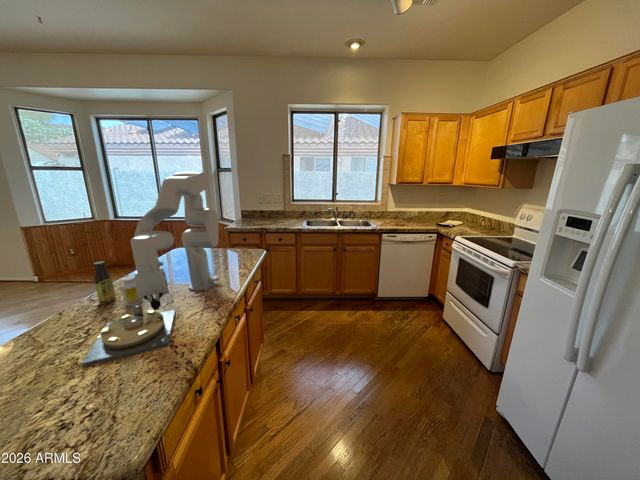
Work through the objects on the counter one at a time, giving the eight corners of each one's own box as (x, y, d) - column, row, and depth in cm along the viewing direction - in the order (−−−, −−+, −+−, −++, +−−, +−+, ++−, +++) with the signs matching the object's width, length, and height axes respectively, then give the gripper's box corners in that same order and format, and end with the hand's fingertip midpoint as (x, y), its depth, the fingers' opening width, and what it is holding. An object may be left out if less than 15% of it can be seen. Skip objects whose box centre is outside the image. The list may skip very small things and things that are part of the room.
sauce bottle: (106, 305, 117) (96, 265, 112) (96, 304, 118) (85, 264, 113) (120, 298, 123) (110, 260, 118) (109, 297, 124) (100, 260, 119)
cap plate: (175, 312, 110) (175, 309, 110) (168, 346, 89) (167, 342, 89) (107, 326, 101) (106, 322, 101) (80, 367, 80) (79, 363, 79)
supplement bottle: (146, 301, 121) (140, 276, 117) (131, 307, 115) (125, 282, 111) (137, 298, 123) (132, 274, 120) (122, 304, 118) (116, 279, 114)
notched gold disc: (167, 313, 107) (164, 299, 105) (160, 339, 90) (157, 323, 88) (112, 324, 99) (108, 309, 98) (93, 355, 83) (88, 337, 81)
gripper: (171, 261, 104) (178, 300, 109) (127, 266, 98) (136, 308, 103) (168, 267, 97) (176, 308, 102) (121, 273, 92) (132, 317, 96)
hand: (156, 308), depth 103 cm, fingers closed
